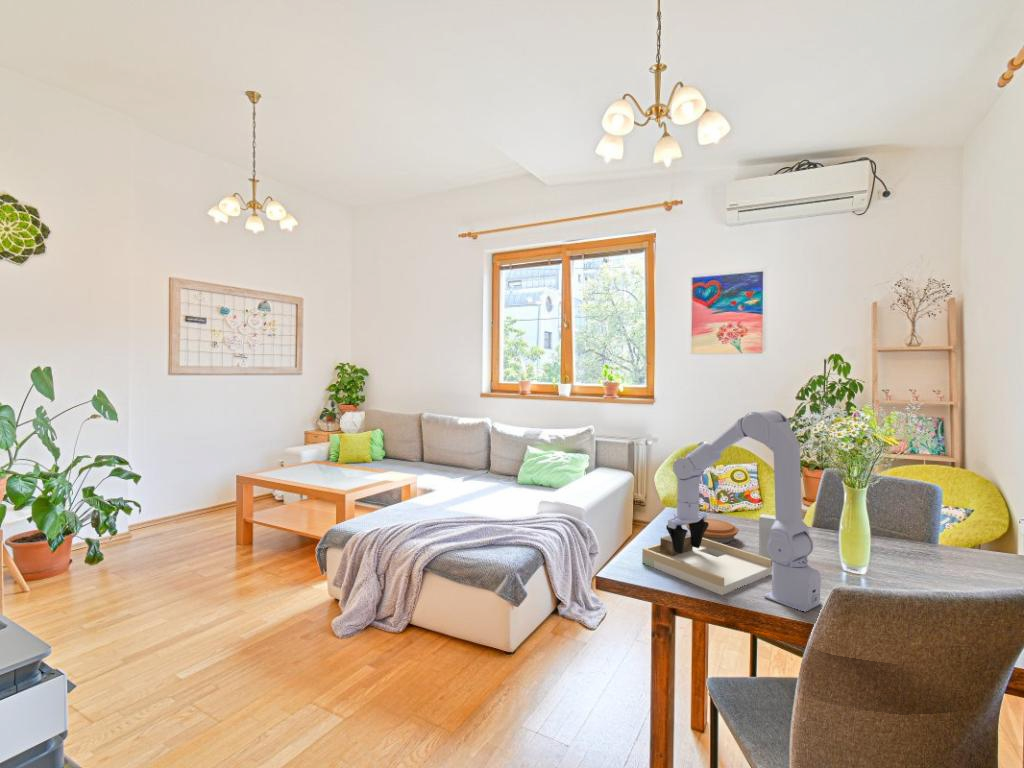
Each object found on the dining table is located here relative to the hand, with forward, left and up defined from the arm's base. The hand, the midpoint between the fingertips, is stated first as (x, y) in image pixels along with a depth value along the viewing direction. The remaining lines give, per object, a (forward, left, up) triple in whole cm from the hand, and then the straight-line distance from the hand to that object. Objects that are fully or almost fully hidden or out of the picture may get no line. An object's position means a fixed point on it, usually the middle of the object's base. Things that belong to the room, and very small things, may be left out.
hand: (687, 549), depth 142 cm
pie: (+8, -24, -4) cm, 26 cm away
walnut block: (+4, 0, -1) cm, 4 cm away
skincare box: (-12, -22, -4) cm, 25 cm away
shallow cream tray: (-6, 0, -3) cm, 7 cm away
